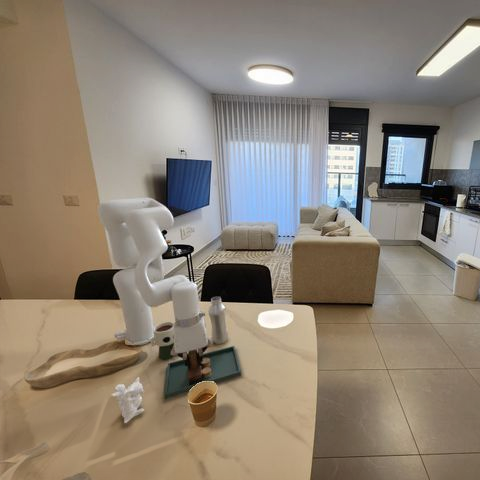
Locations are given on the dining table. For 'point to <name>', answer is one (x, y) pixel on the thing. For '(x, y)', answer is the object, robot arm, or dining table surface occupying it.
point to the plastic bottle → (218, 321)
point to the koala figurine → (129, 399)
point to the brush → (194, 368)
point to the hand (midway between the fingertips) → (194, 364)
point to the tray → (220, 364)
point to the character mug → (164, 339)
